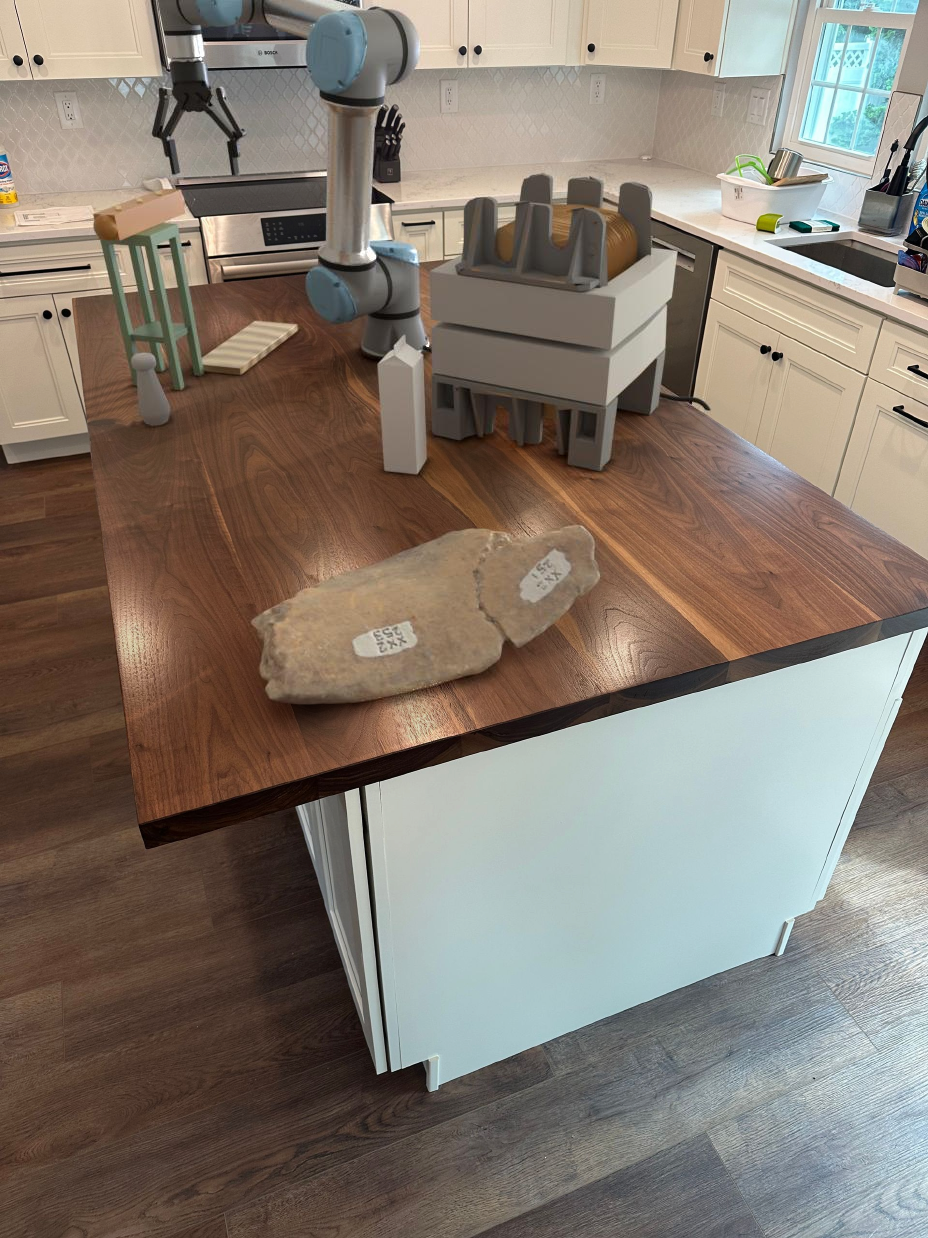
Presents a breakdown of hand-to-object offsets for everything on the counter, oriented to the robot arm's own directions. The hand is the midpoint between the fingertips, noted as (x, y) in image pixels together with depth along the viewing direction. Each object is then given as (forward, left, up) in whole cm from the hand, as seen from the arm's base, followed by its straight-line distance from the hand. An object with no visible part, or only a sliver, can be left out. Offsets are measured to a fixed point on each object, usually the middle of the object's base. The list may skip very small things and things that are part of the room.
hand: (205, 173), depth 196 cm
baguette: (-18, +26, -4) cm, 31 cm away
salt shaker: (-37, +40, -34) cm, 64 cm away
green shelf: (-19, +27, -34) cm, 47 cm away
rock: (-121, +49, -34) cm, 135 cm away
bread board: (-15, +5, -34) cm, 38 cm away
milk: (-85, +19, -34) cm, 94 cm away
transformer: (-90, -13, -34) cm, 97 cm away
